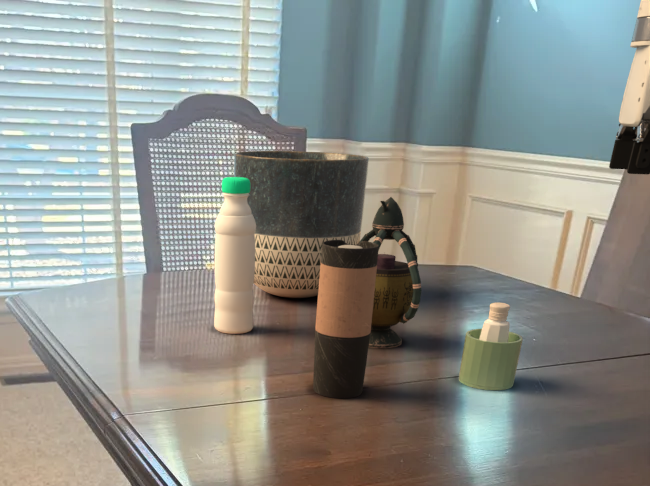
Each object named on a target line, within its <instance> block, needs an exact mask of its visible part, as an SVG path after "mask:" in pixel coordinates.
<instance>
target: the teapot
mask: <svg viewBox="0 0 650 486" xmlns="http://www.w3.org/2000/svg"><path fill="white" fill-rule="evenodd" d="M379 202H380V203H381V205H380V206H379V208H378V209H377V211H376V213H375V215H374V218H373V221H372V226H371V227H372V229H371V230H370V231H368V232H367V233H365V234H364V235H363V236H362V238H360V242H362V241H367V242H370V240H371V239H372V238H374V237H375V238H374V239H373V241H372V243H376V244H378V246H379V250H378V252H379V251H380V248H381V245H382V244H383V242H384V241H385V240H386V241H387V240H388V241H392V240H394V241H396V242H397V244H398V245H399V247H400V249H401V251H402V252H403V255H404V257H405V259H406V262H404V261H399V260H396V259H397V257H396V255H393V254H388V253H378V260H377V271H376V281H375V291H374V302H373V312H372V323H371V332H370V340H369V347H368V348H372V349H390V348H397V347H398V346H401V345H402V341H403V340H402V337H400V336H399V334H398V333H397V332H396V331H395V330H394V329H392V328H391V327H393V326H396V325H398V324H399V323H401V324H406V323H408V322H409V321H411V320H412V319H413V318H415V316H416V314H417V312H418V310H419V306H420V303H421V297H422V281H421V276H420V271H419V263H418V254H417V250H416V245H415V243H413V241H412V239H411V237H410V235H409V234H407V233H406V232H405V231H403V230H404V227H405V222H404V216H403V212H402V209H401V207H400V205H399V203H398V201H396V200H395V199H394V198H393V197H392V196H390V197H389V198H388V199H386V200H380V201H379ZM360 242H359V243H360ZM359 243H357V244H359Z"/></svg>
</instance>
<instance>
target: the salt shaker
mask: <svg viewBox="0 0 650 486" xmlns="http://www.w3.org/2000/svg"><path fill="white" fill-rule="evenodd" d="M510 309H511V305H510V304H508V303H505V302H499V301H497V302H492V303H490V304H489V313H488V318H487V319H485V320H484V321H483V324H482V328H481V329H482V331H481V335H480V338H479V339H480V340H484V341H490V342H508V338H509V332H510V326H511V325H510V321H507V320H508V315H509V311H510Z"/></svg>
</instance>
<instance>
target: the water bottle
mask: <svg viewBox="0 0 650 486" xmlns="http://www.w3.org/2000/svg"><path fill="white" fill-rule="evenodd" d="M221 192H222V196H223V198H224V199H223V203H222V205H221V206H220V209H219V213H218V215H217V216H216V218H215V221H214V230H215V237H214V238H215V241H214V282H215V289H214V296H213V297H214V300H213V301H214V315H213V318H214V319H213V326H214V329H215V330H216V331H218V332H220V333H223V334H229V335H241V334H247V333H249V332H251V331H252V330H253V328H254V310H253V309H254V305H255V291H254V285H255V284H254V273H255V235H254V233H255V231H256V222H255V220H254V217H253V215H252V214H251V209H250V207H249V205H248V202H247V198H248V196H249V193H250V180H249V179H247V178H243V177H234V176H228V177H223V178H222V181H221Z"/></svg>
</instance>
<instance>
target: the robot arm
mask: <svg viewBox="0 0 650 486" xmlns="http://www.w3.org/2000/svg"><path fill="white" fill-rule="evenodd" d="M631 38H632V39H631V42H630V48H633V49H635V52H634V56H633V59H632V62H631V65H630V69H629V73H628V77H627V80H626V85H625V88H624V93H623V97H622V101H621V105H620V109H619V113H618V122H619V124H618V129H617V132H616V134H615V140H614V142H613V143H614V144H613V148H612V153H611V157H610V161H609V165H608V168H609V169H610V170H626V173H627V174H628V175H629V174H630V175H650V0H640V3H639V7H638V11H637V16H636V19H635V24H634V29H633V33H632V37H631Z"/></svg>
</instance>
